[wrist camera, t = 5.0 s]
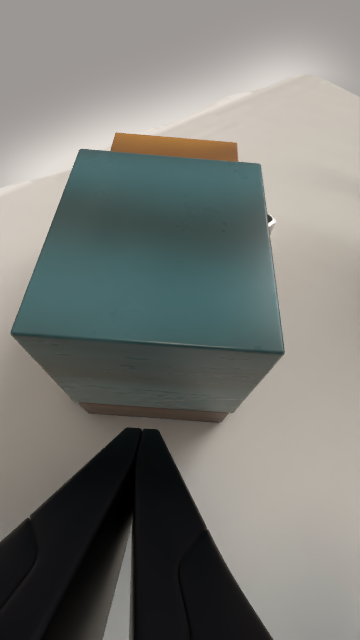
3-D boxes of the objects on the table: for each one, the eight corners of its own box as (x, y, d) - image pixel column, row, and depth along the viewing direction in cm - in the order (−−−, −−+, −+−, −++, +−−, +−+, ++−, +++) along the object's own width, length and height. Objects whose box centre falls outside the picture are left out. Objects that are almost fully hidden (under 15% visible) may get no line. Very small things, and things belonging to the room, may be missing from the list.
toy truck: (237, 423, 15) (309, 355, 8) (71, 412, 15) (-17, 332, 8) (230, 232, 22) (265, 97, 14) (115, 223, 22) (90, 82, 14)
